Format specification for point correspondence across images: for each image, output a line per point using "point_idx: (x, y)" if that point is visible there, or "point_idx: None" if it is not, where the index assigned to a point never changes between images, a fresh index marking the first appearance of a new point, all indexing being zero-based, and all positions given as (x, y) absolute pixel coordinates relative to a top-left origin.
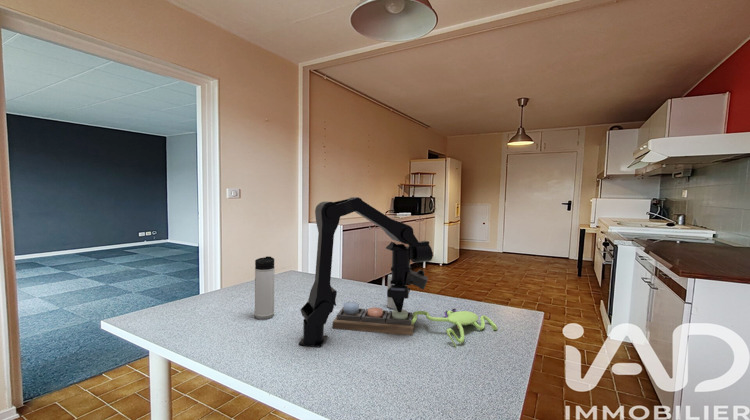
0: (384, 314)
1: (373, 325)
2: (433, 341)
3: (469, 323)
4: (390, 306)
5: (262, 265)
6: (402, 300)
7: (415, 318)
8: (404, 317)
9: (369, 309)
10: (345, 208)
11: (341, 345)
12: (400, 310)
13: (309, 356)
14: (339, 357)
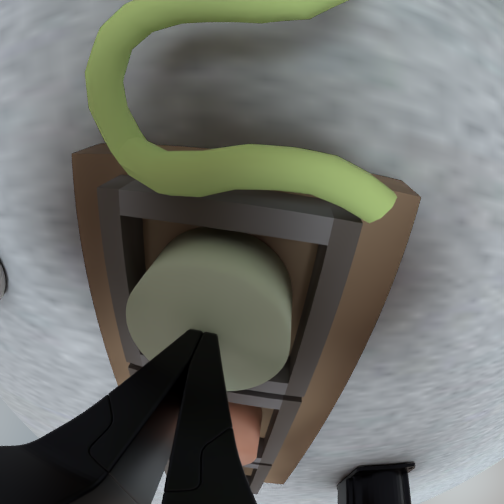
0: None
1: (326, 415)
2: (482, 56)
3: None
4: (1, 290)
5: None
6: (240, 478)
7: (350, 176)
8: (280, 287)
9: None
10: None
11: (421, 438)
12: (219, 356)
13: (448, 459)
14: (483, 423)
